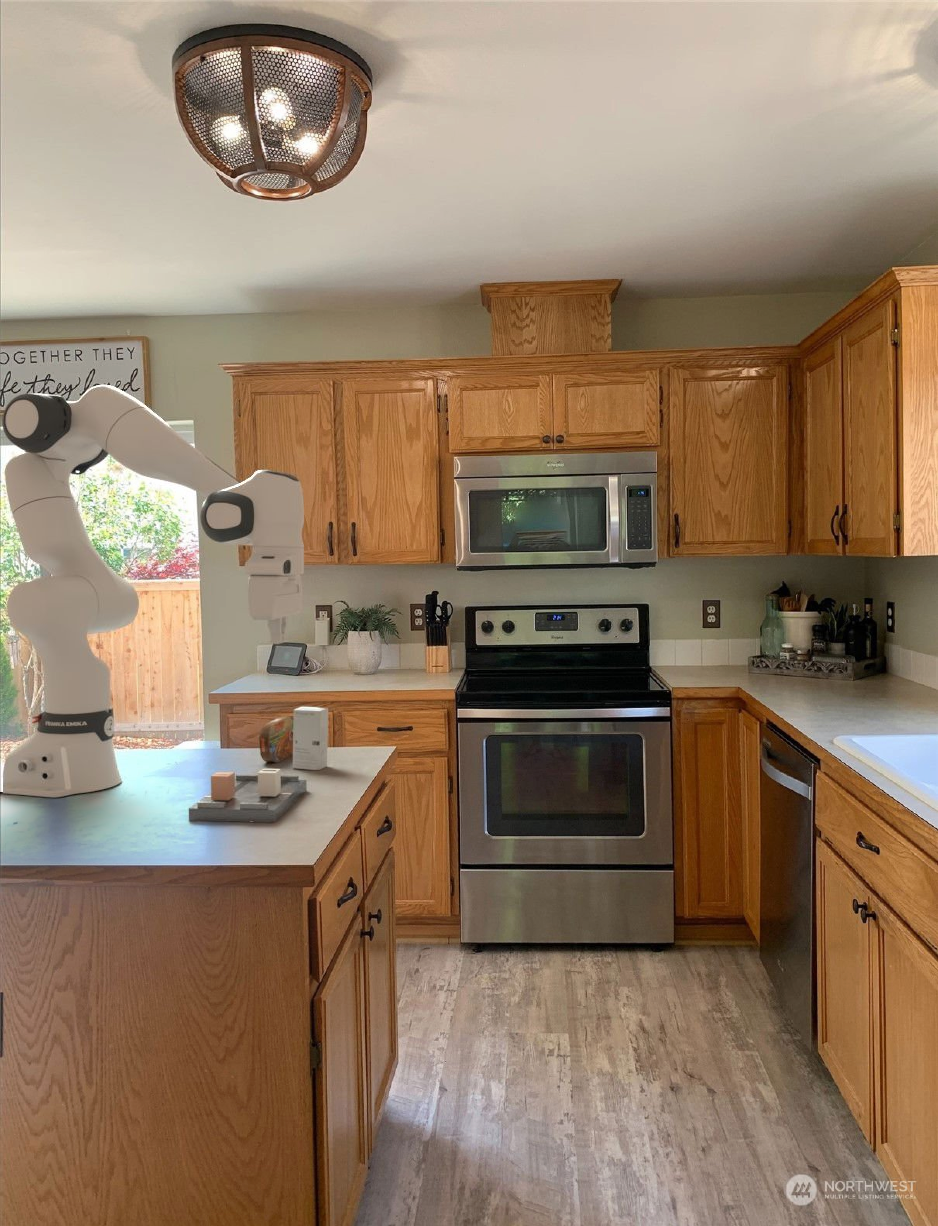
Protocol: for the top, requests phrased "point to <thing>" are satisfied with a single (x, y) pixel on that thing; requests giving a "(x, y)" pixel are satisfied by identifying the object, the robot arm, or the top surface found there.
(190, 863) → the top surface
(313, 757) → the skincare box
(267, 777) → the fader
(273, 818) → the panel
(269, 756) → the tin
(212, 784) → the fader
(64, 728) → the robot arm
